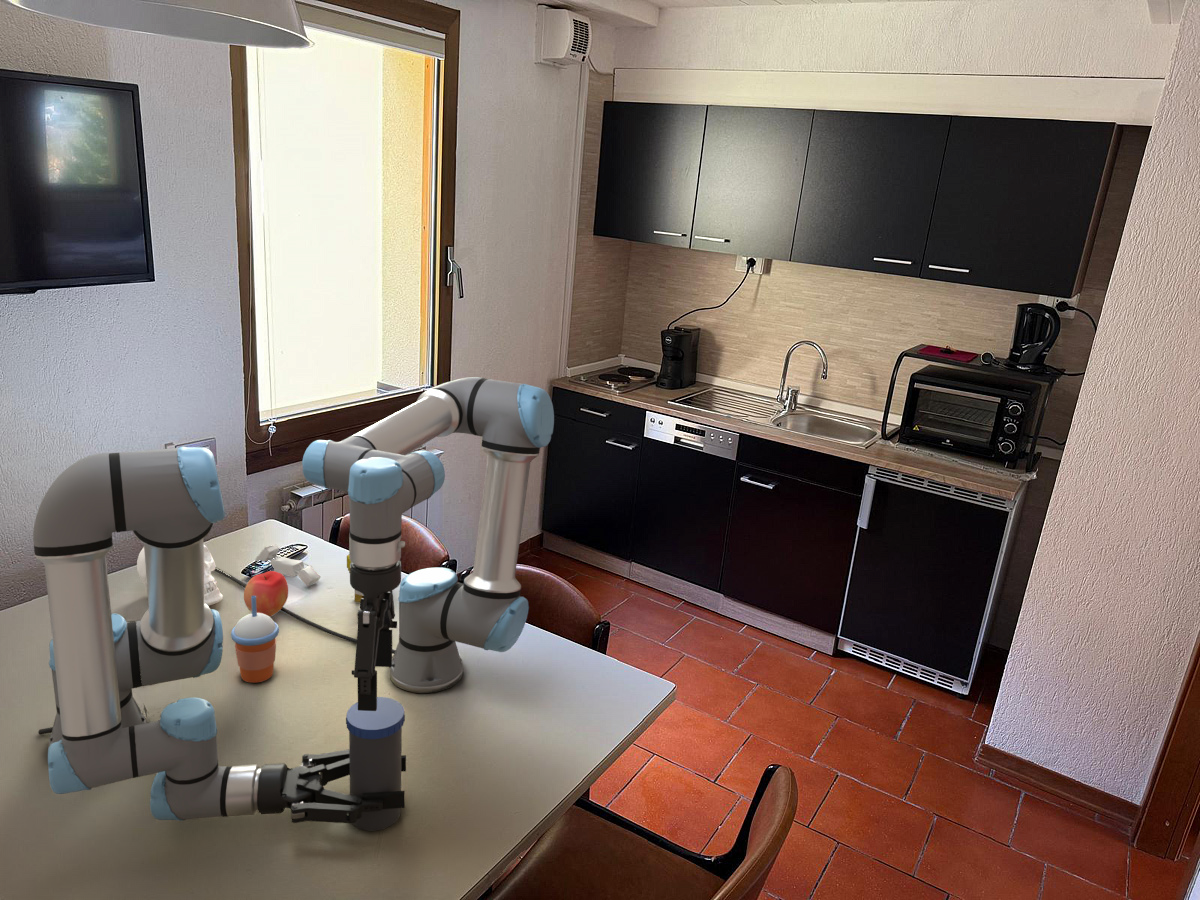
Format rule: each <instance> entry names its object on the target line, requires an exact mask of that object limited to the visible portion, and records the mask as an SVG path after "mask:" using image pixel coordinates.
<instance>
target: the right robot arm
mask: <svg viewBox="0 0 1200 900" xmlns="http://www.w3.org/2000/svg"><path fill="white" fill-rule="evenodd" d="M554 425H555V411H554V405H553V401H552V399H551V396H550V394H549V393H548V392H547V391H546V390H545V389H543V388H541V387H539V386H535V385H530V384H527V383H519V382H511V381H503V380H498V379H490V378H485V377H480V376H479V377H478V376H473V377H472V376H470V377H463V378H458V379H454V380H451V381H447V382H443V383H441V384H439V385H436V386H433V387H431V388H430V389H427V390H425V391H424V392H422V393H421V394H419V396H418V398H417V400H416V402H414V403H411V404H410V405H408V406H406V407H404V408H402V409H401V410H399V411H396V412H394V413H393V414H391V415H388V416H387V417H385V418H383V419H380V420H379V421H378V422H375V423H374V424H371V425H369V426H368V427H365V428H364V429H362V430H360V431H358V432H356V433H354V434H353V435H350V436H348V437H347V438H344V439H342V440H341V441H334V440H331V439H328V440H325V439H316V440H314V441H312V442H311V443H310V444H309V445H308V447H306V450H305V451H304V454H303V457H302V462H301V466H302V474H303V477H304V478H305V480H306V481H307V482H308V483H310V484H312V485H315V486H319V487H322V488H325V489H326V490H327V489H328V490H329V489H330V490H335V491H340V492H346V493H347V494H348V507H349V509H348V510H349V533H348V539H349V543H348V545H349V548H348V552H349V553H348V555H349V559H350V561H351V563H350V573H349V584H350V586H351V588H352V589H353V590H354V591H355V590H356V591H359V592H361V593H362V594H363V595H364V598H361V600H360V603H359V609H358V611H357V614H356V616H357V629H356V630H357V631H356V638H354V637H351V636H348V635H346V634H342V633H339V632H337V631H334V630H332V629H329V628H328V627H324V626H323V625H321V624H318V623H316V622H314V621H311V620H309V619H307V618H305V617H303V616H301V615H299V614H297V613H295V612H293V611H291V610H289V609H287V608H286V607H284V606H283V607H282V608H281V610H280V612H283V613H284V614H286V615H288V616H290V617H292V618H294V619H296V620H298V621H300V622H302V623H304V624H306V625H309V626H311V627H313V628H315V629H317V630H319V631H322V632H324V633H327V634H329V635H331V636H332V637H333V636H334V637H336V638H339V639H342V640H344V641H347V642H351V643H354V644H356V645H355V657H354V658H355V659H354V670H353V669H352V670H351V675H352V676H353V678H354V679H357V702H358V710H361V711H376V710H377V697H378V670H376V667H377V668H389V679H390V681H391V682H392V683H393V684H394V685H395V686H396V687H398V688H399V689H401V690H404V691H407V692H410V693H416V694H430V693H431V694H432V693H438V692H441V691H445V690H447V689H450V688H451V687H453V686H455V685H456V684H457V683H458V682H459V681H460V680H461V679H462V676H463V672H464V664H463V660H462V657H461V656H460V653H459V649H458V646H457V643H460V644H464V645H469V646H472V647H475V648H479V649H483V650H484V651H492V652H498V653H505V652H507V651H509V650H510V649H511V648H513V647H514V646H515V644H516V643H517V641H518V640H519V638H520V636H521V635H522V632H523V630H524V628H525V625H526V623H527V619H528V615H529V609H530V606H529V601H528V599H527V598H526V597H524V596H521V592H522V591H521V590H522V584H521V583H520V582H519V581H518V579H517V578H516V572H517V564H518V557H519V549H520V543H521V542H520V541H521V535H522V529H523V519H524V513H525V506H526V499H527V490H528V483H529V476H530V468H531V462H532V461H533V460H535V459H536V458H537V457H539V456H540V451H541V449H542V448H545V447H547V446H548V445H549V443H550V442H551V439H552V435H553V433H554ZM451 434H466V435H472V436H477V437H482V439H481V450H483V451H484V453H485V454H486V457H487V459H486V466H485V474H484V483H483V491H482V497H481V504H480V505H481V506H480V512H479V522H478V528H477V536H476V544H475V553H474V560H473V567H472V572H471V573H470V574H468V575H467V576H466V577H464V579H463V583H462V582H458V580H459V579H458V575H457V573H456V572H455V571H454V570H453V569H450V568H448V567H447V568H446V567H427V568H421V569H418V570H416V571H413V572H410V573H409V574H407V575H406V576H405V577H403V579H402V561H401V558H402V548H405V547H406V542H405V541H403V540H401V539H402V523H403V522H402V520H403V514H404V513H405V512H408V511H409V510H410V509H412V508H414V507H415V506H417V505H419V504H421V503H423V502H424V501H427V500H429V499H430V498H431V497H432V496H433V495H434V494H436V493H437V492H439V490H440V489H441V488H442V487H443V485H444V483H445V480H446V472H445V467H444V464H443V463H442V461H441V460H440V457H438V456H437V455H436V454H435V453H433V452H431V451H428V450H423V449H422V450H417V449H418V448H420V447H421V446H423V445H426V443H428V442H430V441H431V440H433V439H435V438H436V437H438V438H444V437H448V436H450V435H451ZM218 569H219V570H221V568H218ZM219 570H217V569H215V570H213V571H214V572H216V573H219V574H220V575H222V576H224V577H226V578H227V579H229V580H230V581H233V582H234V583H236V584H237V585H239V586H241V587H243V588H244V589H245V587H246V585H247V583H244V582H243V581H241V580H240V579H238V578H236V577H235V576H233V575H231V574H229V573H228V574H229V575H230V576H231V577H230V576H228V575H226V574H225V573H223V571H224V570H222V572H221V571H219ZM398 587H399V590H398V591H399V594H398V598H397V600H398V620H394V619H395V618H396V613H395V605H394V603H395V601H394V593H393V592H394V591H395V589H397V588H398ZM397 628H398V643H397V645H396V648H395V649H393V629H397Z"/></svg>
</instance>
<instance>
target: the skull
mask: <svg viewBox="0 0 1200 900" xmlns="http://www.w3.org/2000/svg"><path fill="white" fill-rule="evenodd" d="M215 568H217V565H216V563H215V560H214V558H213V556H212V554H211V551H210V550H209V548H208V546H207V545H206V544H204V603H206V604H207V605H208V606H209V607H210V606H212V605H214V604H217V603H219V602H221V601H222V600H223V598H224V595H223V594H222V593H221V591H220V589H219V587H218V581H216V579H215V578H214V576H213V575H212V574H211V573H212V572H213V571H214V570H215ZM136 570H137V575H138V577H139V579H140V581H141V582H142V584H143V585H144V586H145V587H146V588H147V578H146V565H145V552H144V546H143V547H142V549H141V550H140V552H139V553H138V556H137V560H136Z"/></svg>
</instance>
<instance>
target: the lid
mask: <svg viewBox="0 0 1200 900" xmlns="http://www.w3.org/2000/svg"><path fill="white" fill-rule="evenodd" d="M345 716H346V717H345V724H346V729H347V730H348V733H349V732H350V733H352V734H353V735H355V736H357V737H360V738H364V739H379V738H384V737H387V736H390V735H392V734H394V733H396V732H397V731H398V730H400V728H401V727H402V728H403V726H404V723H405V721H406V714H405V708H404V705H402V703H401V702H399V701H398V700H396V699H394V698H391V697H387V696H377V710H376V711H361V710H358V701H357V702H355V703H354V704H352V705H351V706H350V707H349V708H348V710H347V711H346V715H345Z"/></svg>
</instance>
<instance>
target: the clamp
mask: <svg viewBox="0 0 1200 900" xmlns="http://www.w3.org/2000/svg"><path fill="white" fill-rule="evenodd" d="M280 549H281V547H279V546H278V545H277V544H272V545H266V546H264V547H263V549H262V550H261V551H260V552H259V554H258V555H257V556H256V557H255V559H254V562H255V563H256V561H259V560H262V561H268V560H271V562H270V563H269V564H271V565H272V566H273V568H274V571H275V572H278V573H281V574H282V575H283V576H288V577H292V578H296V577H298V578H299V579H300V580H301V582H303V584H304V585H305V587H309V586H312V585H314V584H316V583H318V582H319V580H320V579H321V578H322V577H321V575H320V574H319V573H318V572H317V570H315V569H314V568H313V566H312V565H310V564H309V565H308V564H307V563H305V562H304V561H303V560H301V559H300V560H299V559H292V558H289V557H285V556H278V553H279V551H280ZM273 558H274V559H273ZM272 559H273V560H272ZM305 566H306V567H305ZM270 571H271V570H270Z"/></svg>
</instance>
